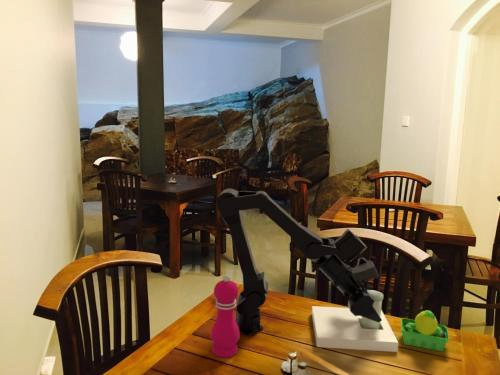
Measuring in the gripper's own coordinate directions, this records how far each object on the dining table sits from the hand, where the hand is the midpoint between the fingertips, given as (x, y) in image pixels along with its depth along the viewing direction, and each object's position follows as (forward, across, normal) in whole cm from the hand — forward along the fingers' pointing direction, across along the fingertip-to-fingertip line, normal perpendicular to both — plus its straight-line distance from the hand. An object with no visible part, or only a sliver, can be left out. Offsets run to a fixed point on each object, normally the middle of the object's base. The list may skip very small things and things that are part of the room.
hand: (376, 313), depth 115 cm
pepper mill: (-23, -12, +33) cm, 42 cm away
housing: (0, 0, +9) cm, 9 cm away
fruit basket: (+13, -4, -3) cm, 14 cm away
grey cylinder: (+3, 0, +5) cm, 6 cm away
